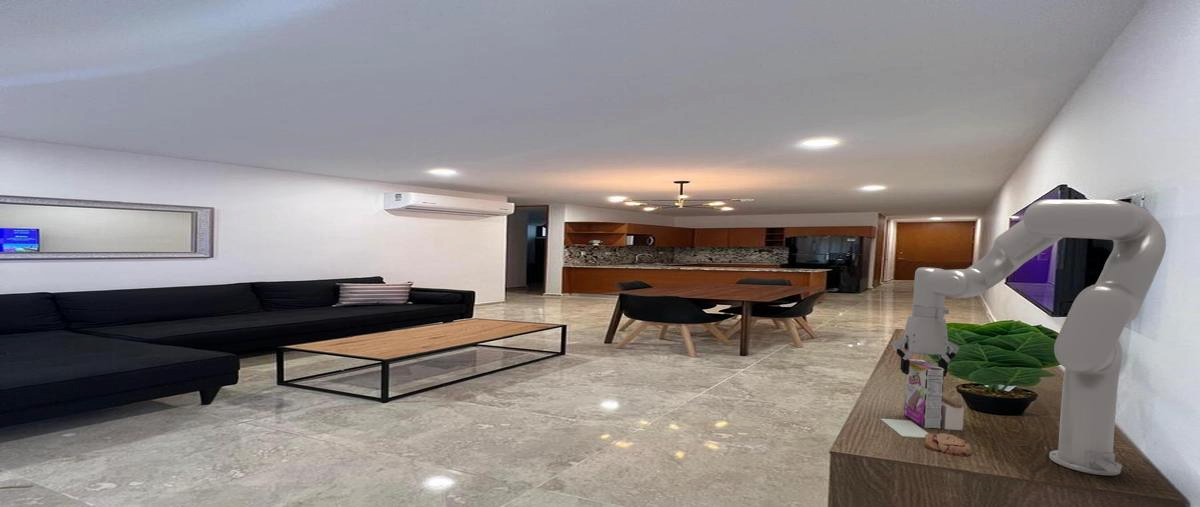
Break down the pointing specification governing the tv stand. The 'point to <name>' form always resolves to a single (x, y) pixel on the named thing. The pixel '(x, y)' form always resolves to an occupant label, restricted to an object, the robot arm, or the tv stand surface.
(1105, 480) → the tv stand surface
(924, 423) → the candy bar box
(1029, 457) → the tv stand surface
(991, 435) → the tv stand surface
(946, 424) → the block
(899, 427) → the stub pad
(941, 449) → the cookie
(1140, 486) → the tv stand surface
